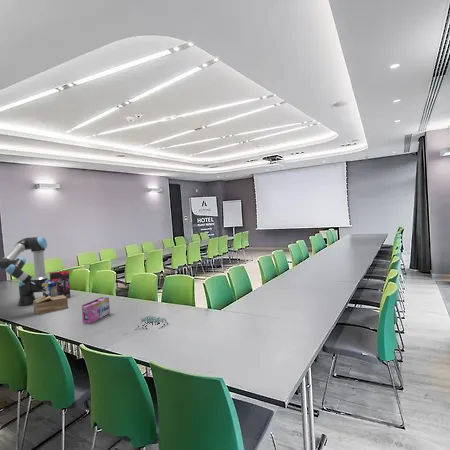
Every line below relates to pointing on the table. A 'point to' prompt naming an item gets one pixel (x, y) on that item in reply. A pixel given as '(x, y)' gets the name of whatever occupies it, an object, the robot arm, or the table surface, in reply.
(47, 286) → the beverage box
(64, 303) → the carton
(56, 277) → the graphics card box
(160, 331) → the table surface
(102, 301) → the gum box
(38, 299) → the flap
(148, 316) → the grey bumpy mound
